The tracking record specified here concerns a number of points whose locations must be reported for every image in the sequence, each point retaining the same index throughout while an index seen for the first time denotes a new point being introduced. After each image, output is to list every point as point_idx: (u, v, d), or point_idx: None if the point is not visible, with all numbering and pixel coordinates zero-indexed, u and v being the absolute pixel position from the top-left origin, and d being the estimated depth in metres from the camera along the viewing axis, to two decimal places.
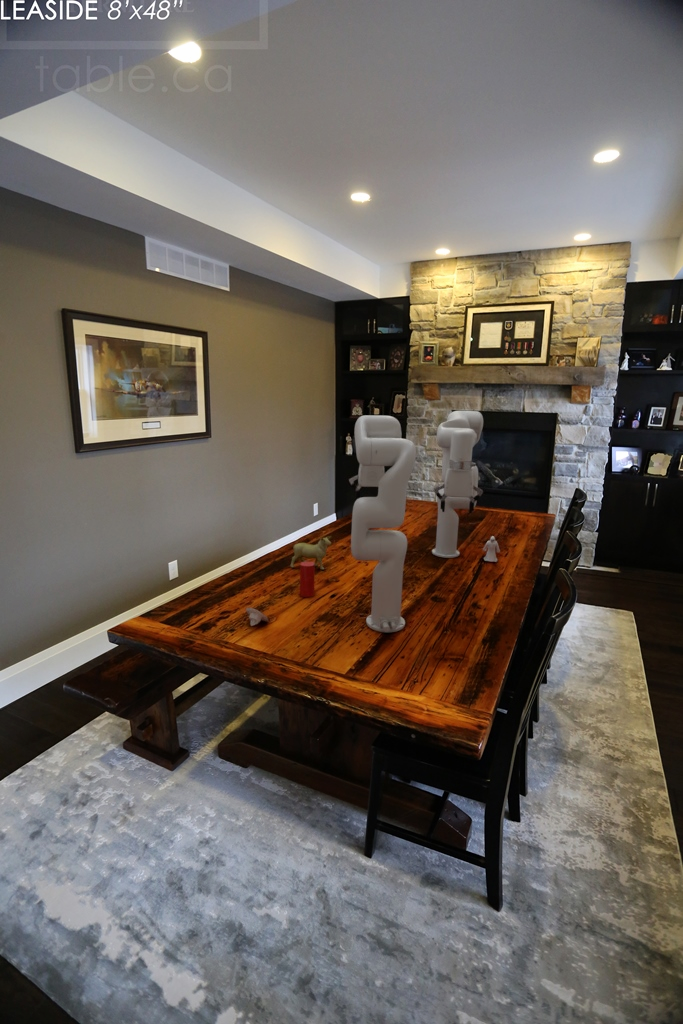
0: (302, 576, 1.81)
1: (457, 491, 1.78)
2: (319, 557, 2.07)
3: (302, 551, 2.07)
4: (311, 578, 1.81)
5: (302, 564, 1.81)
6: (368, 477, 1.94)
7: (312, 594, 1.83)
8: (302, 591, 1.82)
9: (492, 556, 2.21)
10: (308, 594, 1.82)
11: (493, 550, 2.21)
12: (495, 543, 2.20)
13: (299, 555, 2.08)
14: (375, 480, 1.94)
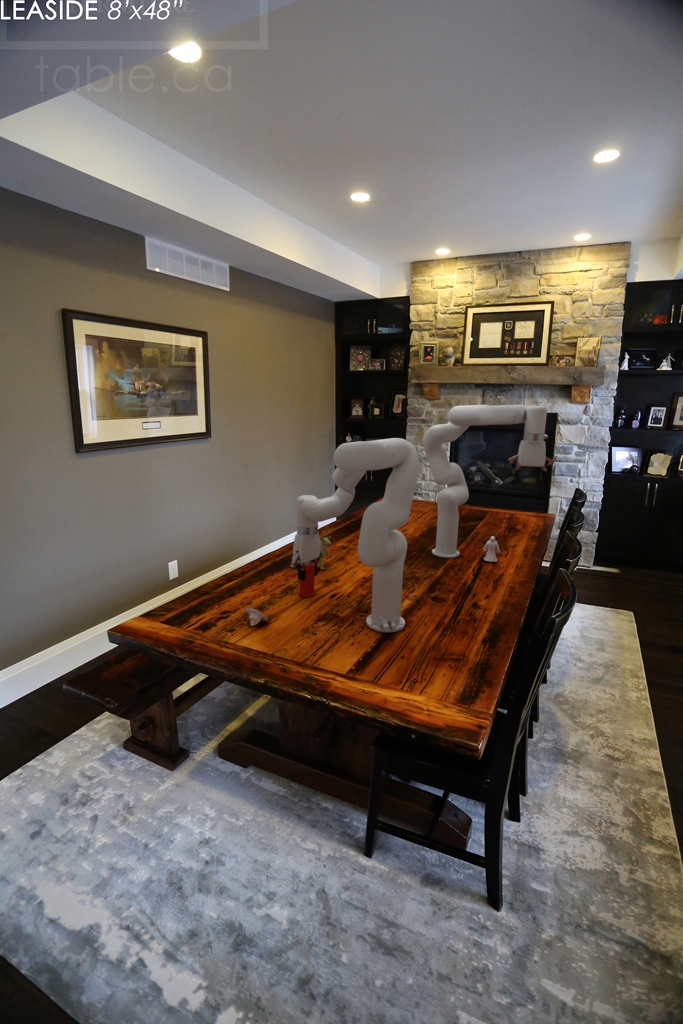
0: None
1: (531, 460, 1.98)
2: None
3: None
4: (311, 578, 1.81)
5: None
6: None
7: (312, 594, 1.83)
8: (302, 591, 1.82)
9: (492, 556, 2.21)
10: (308, 594, 1.82)
11: (493, 550, 2.21)
12: (495, 543, 2.20)
13: None
14: None
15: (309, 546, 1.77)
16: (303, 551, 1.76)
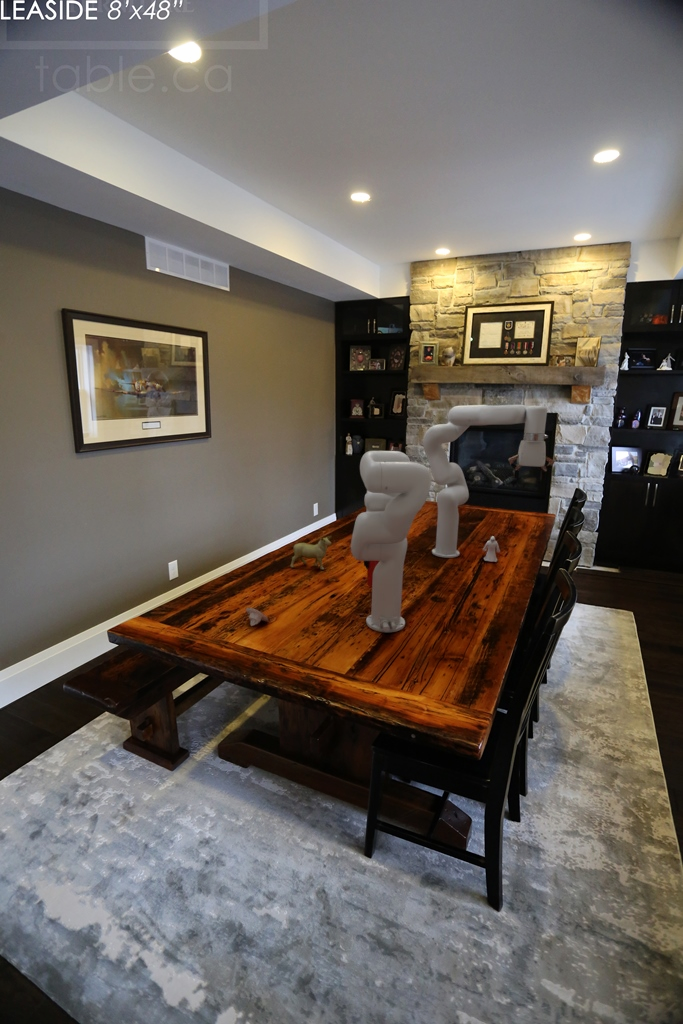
0: None
1: (531, 460, 1.98)
2: (319, 557, 2.07)
3: (302, 551, 2.07)
4: (374, 568, 1.81)
5: None
6: None
7: None
8: (367, 579, 1.84)
9: (492, 556, 2.21)
10: (371, 584, 1.83)
11: (493, 550, 2.21)
12: (495, 543, 2.20)
13: (299, 555, 2.08)
14: None
15: None
16: None
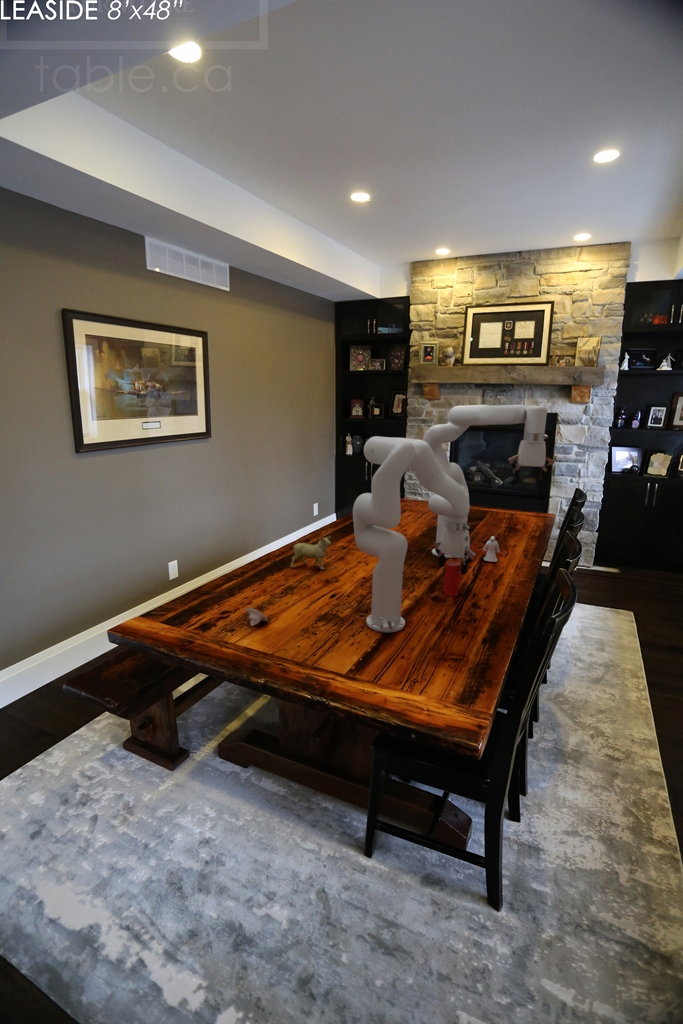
0: None
1: (531, 460, 1.98)
2: (319, 557, 2.07)
3: (302, 551, 2.07)
4: (447, 577, 1.85)
5: (451, 561, 1.87)
6: None
7: (447, 593, 1.86)
8: None
9: (492, 556, 2.21)
10: (444, 591, 1.87)
11: (493, 550, 2.21)
12: (495, 543, 2.20)
13: (299, 555, 2.08)
14: None
15: (447, 540, 1.82)
16: (441, 541, 1.84)
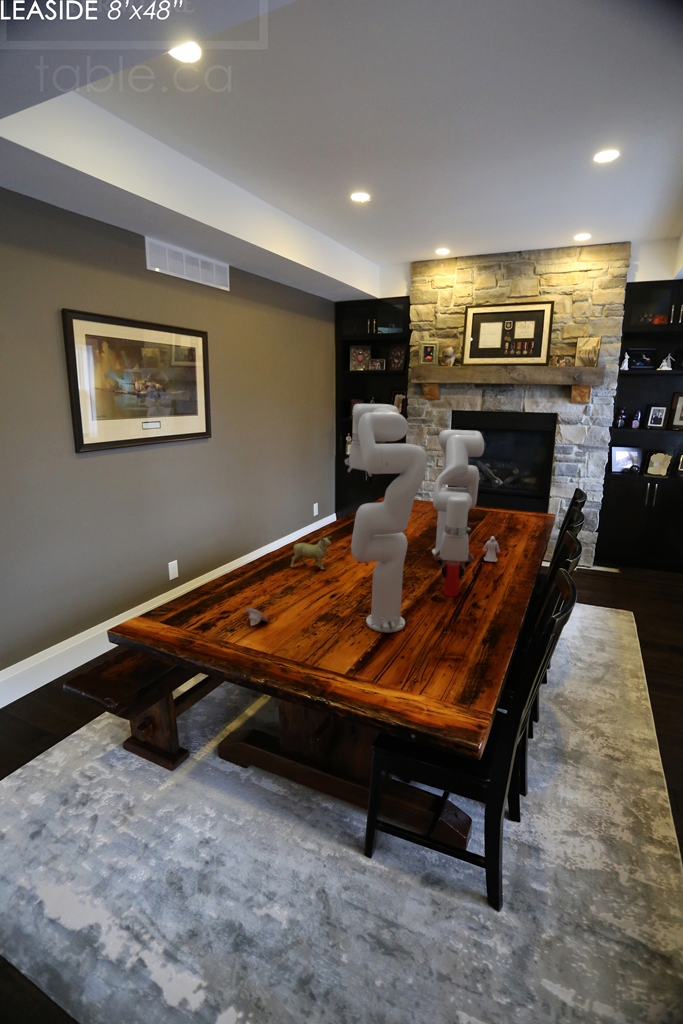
0: None
1: (453, 555, 1.82)
2: (319, 557, 2.07)
3: (302, 551, 2.07)
4: (447, 577, 1.85)
5: (451, 561, 1.87)
6: None
7: (447, 593, 1.86)
8: None
9: (492, 556, 2.21)
10: (444, 591, 1.87)
11: (493, 550, 2.21)
12: (495, 543, 2.20)
13: (299, 555, 2.08)
14: None
15: (354, 453, 1.82)
16: (350, 455, 1.85)
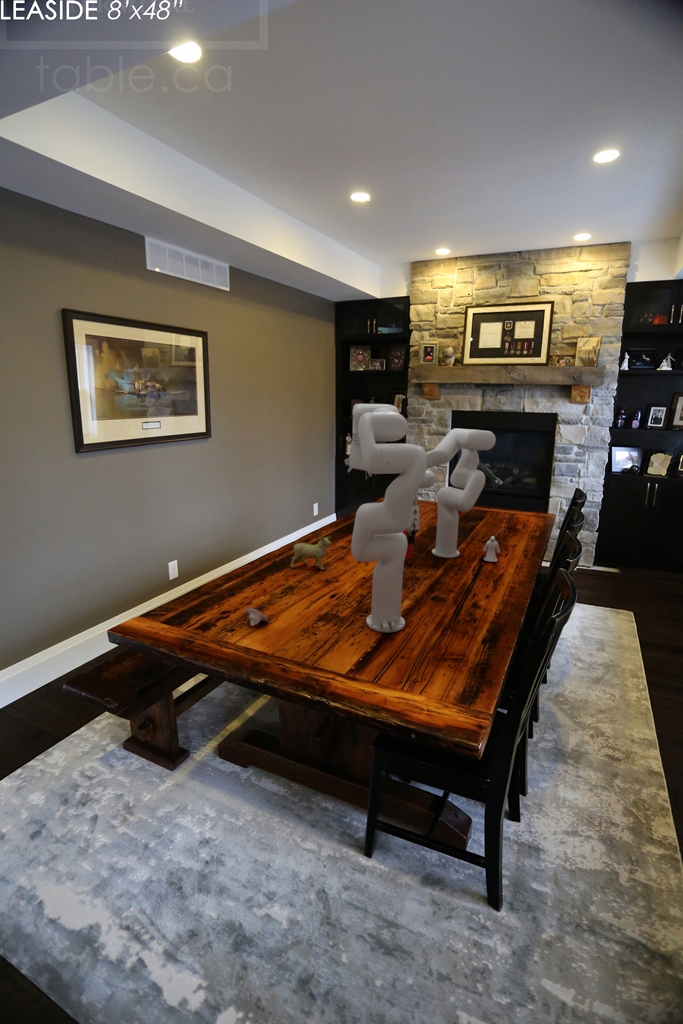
0: None
1: None
2: (319, 557, 2.07)
3: (302, 551, 2.07)
4: None
5: None
6: None
7: None
8: None
9: (492, 556, 2.21)
10: None
11: (493, 550, 2.21)
12: (495, 543, 2.20)
13: (299, 555, 2.08)
14: None
15: (354, 453, 1.82)
16: (350, 455, 1.85)
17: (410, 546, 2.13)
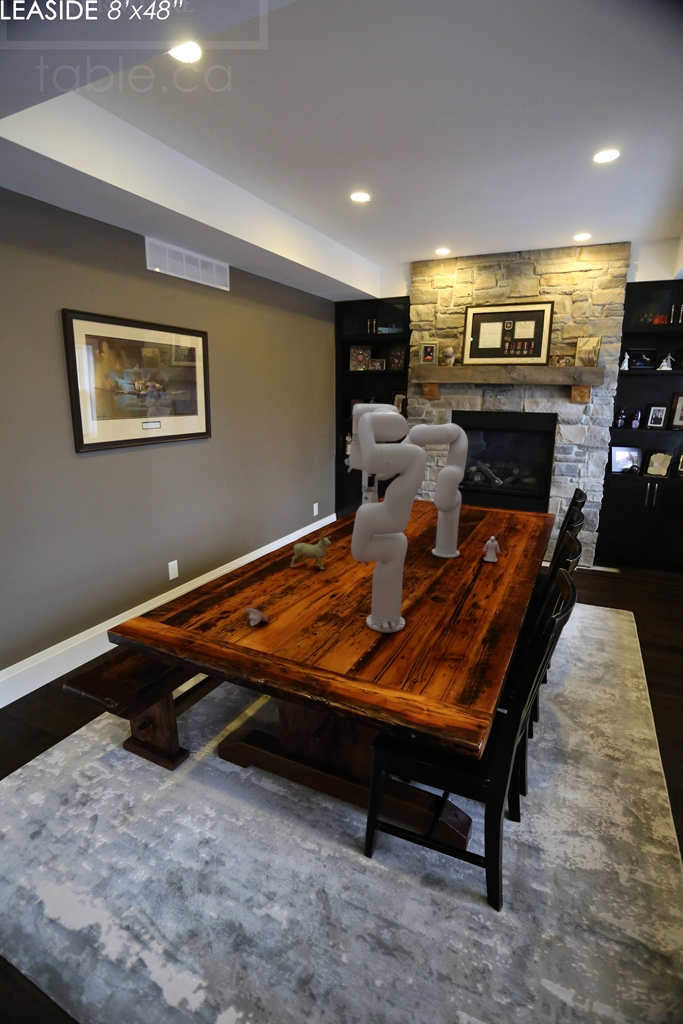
0: None
1: None
2: (319, 557, 2.07)
3: (302, 551, 2.07)
4: None
5: None
6: None
7: None
8: None
9: (492, 556, 2.21)
10: None
11: (493, 550, 2.21)
12: (495, 543, 2.20)
13: (299, 555, 2.08)
14: None
15: (354, 453, 1.82)
16: (350, 455, 1.85)
17: None
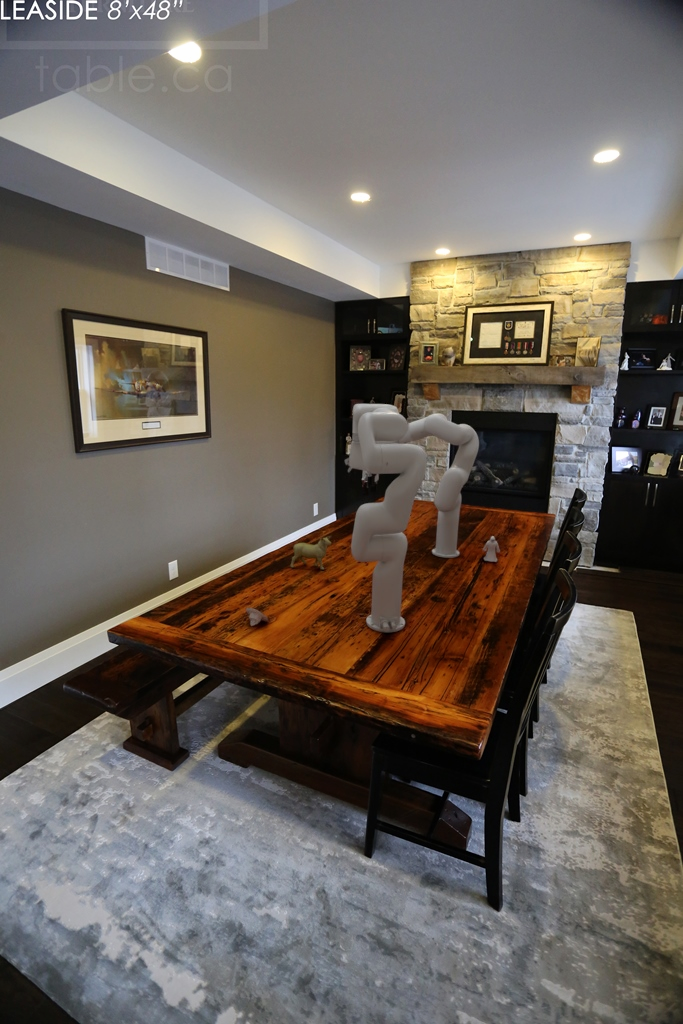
0: None
1: None
2: (319, 557, 2.07)
3: (302, 551, 2.07)
4: None
5: None
6: None
7: None
8: None
9: (492, 556, 2.21)
10: None
11: (493, 550, 2.21)
12: (495, 543, 2.20)
13: (299, 555, 2.08)
14: None
15: (354, 453, 1.82)
16: (350, 455, 1.85)
17: None
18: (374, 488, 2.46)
